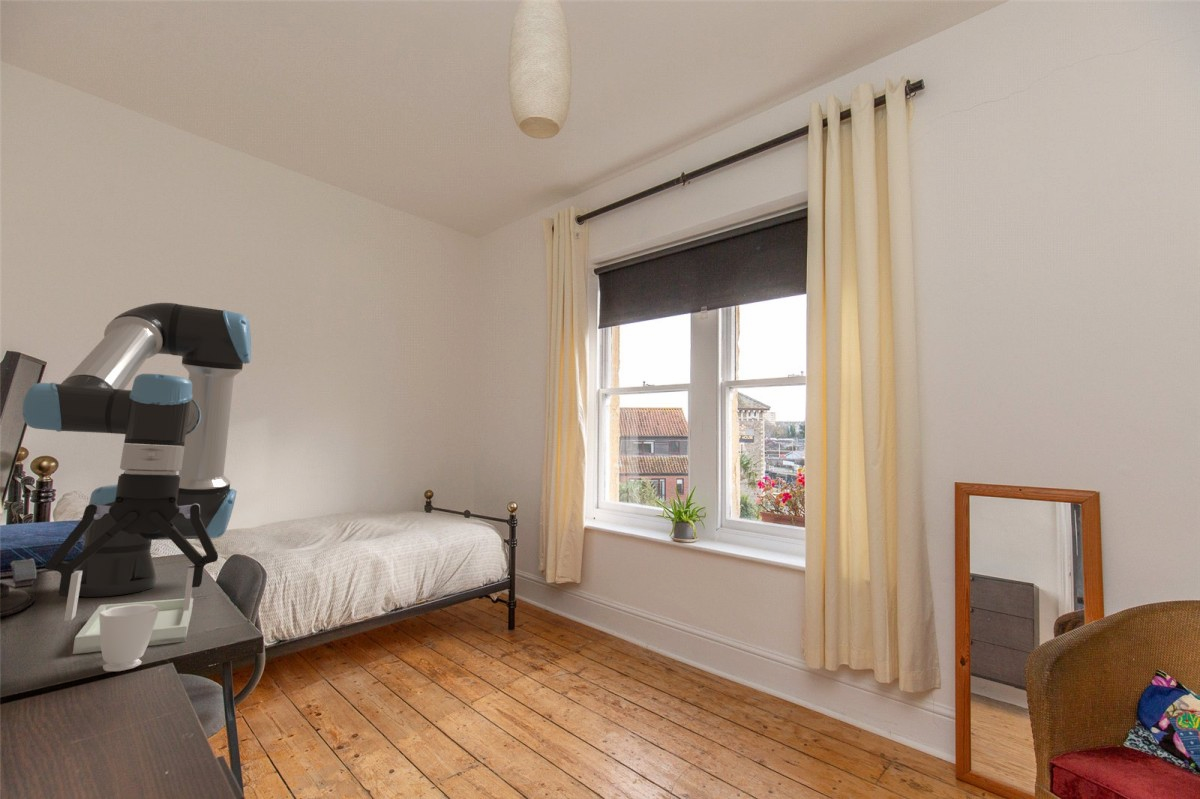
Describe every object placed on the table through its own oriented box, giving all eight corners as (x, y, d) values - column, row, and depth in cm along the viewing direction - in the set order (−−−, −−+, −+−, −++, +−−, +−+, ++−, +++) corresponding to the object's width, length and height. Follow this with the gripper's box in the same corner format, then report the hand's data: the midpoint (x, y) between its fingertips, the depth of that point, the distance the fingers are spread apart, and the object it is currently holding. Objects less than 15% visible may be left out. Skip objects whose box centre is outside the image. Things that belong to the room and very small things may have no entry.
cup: (84, 678, 77) (93, 618, 78) (101, 654, 85) (109, 601, 86) (148, 670, 81) (156, 613, 81) (158, 648, 89) (165, 597, 90)
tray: (98, 618, 101) (100, 605, 102) (191, 610, 109) (193, 597, 109) (72, 654, 85) (75, 637, 85) (185, 641, 93) (187, 626, 93)
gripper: (32, 470, 76) (5, 630, 73) (245, 476, 90) (229, 610, 87) (47, 469, 82) (22, 616, 80) (244, 474, 96) (229, 599, 93)
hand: (130, 613), depth 83 cm, fingers open, 13 cm apart
